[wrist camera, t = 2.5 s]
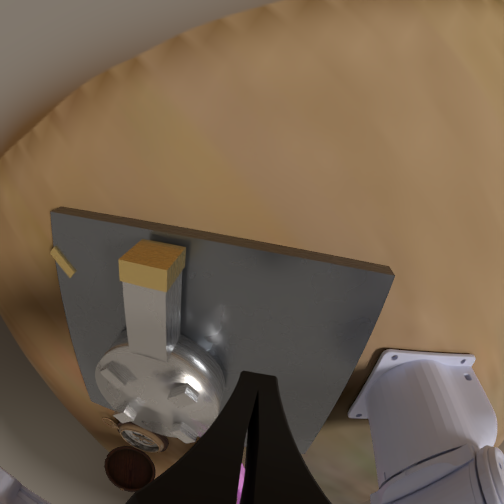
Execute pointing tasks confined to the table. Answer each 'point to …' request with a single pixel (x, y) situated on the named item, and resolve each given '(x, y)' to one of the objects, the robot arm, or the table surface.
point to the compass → (133, 457)
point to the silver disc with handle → (158, 351)
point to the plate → (229, 307)
